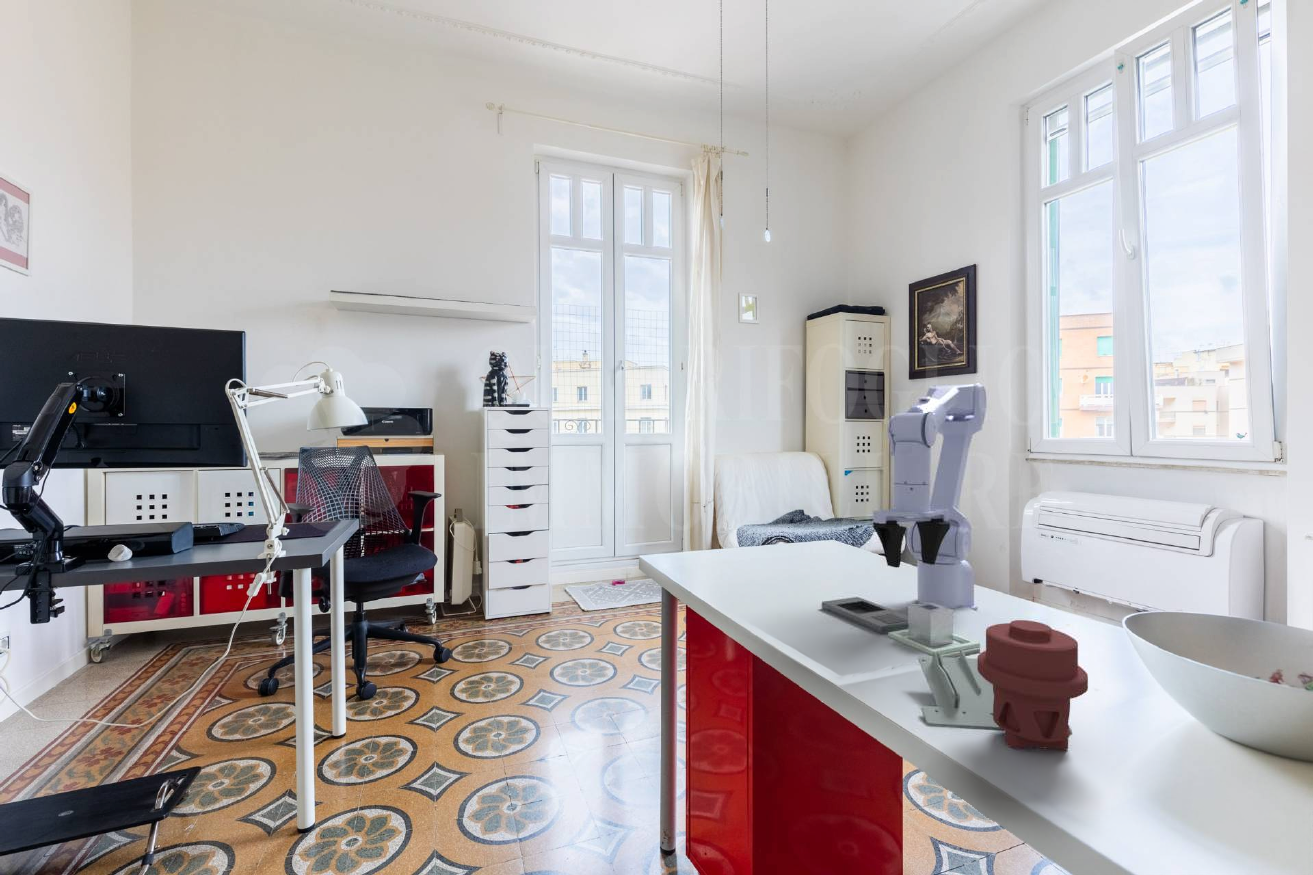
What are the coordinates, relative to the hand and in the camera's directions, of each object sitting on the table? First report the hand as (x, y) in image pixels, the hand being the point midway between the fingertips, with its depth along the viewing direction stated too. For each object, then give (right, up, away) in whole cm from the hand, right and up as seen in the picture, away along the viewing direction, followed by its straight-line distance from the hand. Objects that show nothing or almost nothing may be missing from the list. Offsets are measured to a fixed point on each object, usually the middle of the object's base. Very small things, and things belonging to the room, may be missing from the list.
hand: (911, 565), depth 102 cm
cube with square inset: (-1, -10, -9) cm, 13 cm away
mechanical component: (-3, -11, -37) cm, 39 cm away
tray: (-1, -11, -9) cm, 14 cm away
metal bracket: (-4, -12, -28) cm, 31 cm away
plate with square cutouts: (-6, -11, +2) cm, 12 cm away
